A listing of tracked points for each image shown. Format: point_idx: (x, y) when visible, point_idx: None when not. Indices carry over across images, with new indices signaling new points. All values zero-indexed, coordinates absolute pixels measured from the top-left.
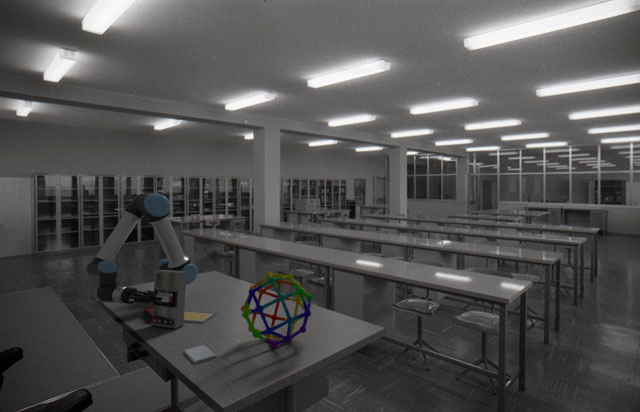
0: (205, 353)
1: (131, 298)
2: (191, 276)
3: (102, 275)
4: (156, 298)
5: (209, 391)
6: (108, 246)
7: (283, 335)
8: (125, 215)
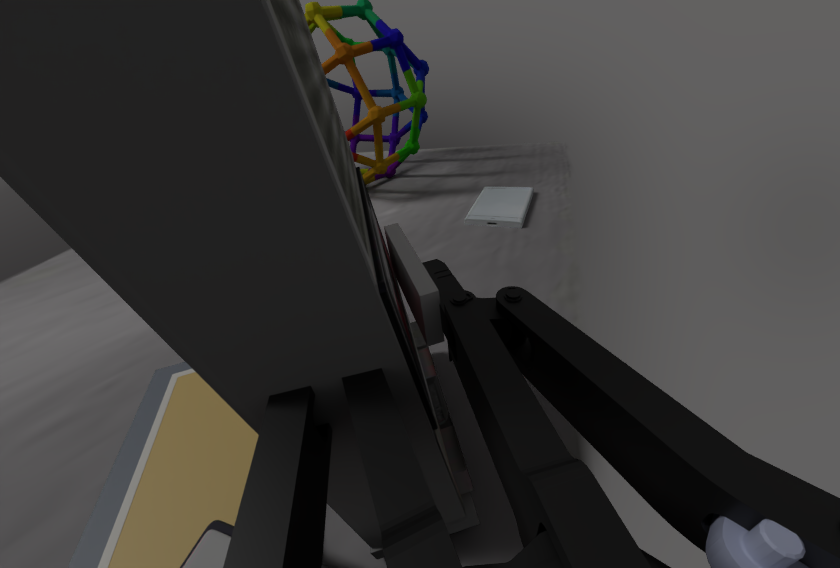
0: (495, 196)
1: (811, 498)
2: None
3: None
4: (456, 283)
5: (561, 155)
6: None
7: (399, 131)
8: None
